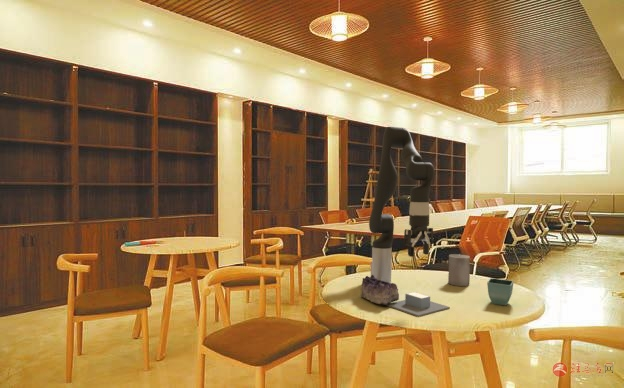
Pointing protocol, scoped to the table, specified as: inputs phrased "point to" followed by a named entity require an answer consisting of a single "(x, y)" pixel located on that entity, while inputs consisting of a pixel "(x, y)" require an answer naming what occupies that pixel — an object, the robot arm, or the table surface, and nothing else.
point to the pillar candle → (459, 270)
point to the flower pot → (500, 291)
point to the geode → (379, 291)
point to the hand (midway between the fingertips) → (418, 255)
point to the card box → (417, 300)
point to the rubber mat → (416, 311)
